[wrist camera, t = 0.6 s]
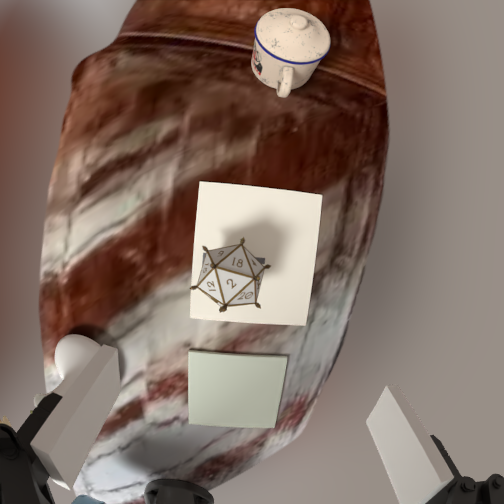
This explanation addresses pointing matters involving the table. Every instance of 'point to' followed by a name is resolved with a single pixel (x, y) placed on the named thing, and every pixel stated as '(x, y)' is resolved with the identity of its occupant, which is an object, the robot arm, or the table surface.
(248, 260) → the game die
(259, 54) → the teacup with lid
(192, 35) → the table surface
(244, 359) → the sage mat
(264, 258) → the card
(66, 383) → the flower in vase
